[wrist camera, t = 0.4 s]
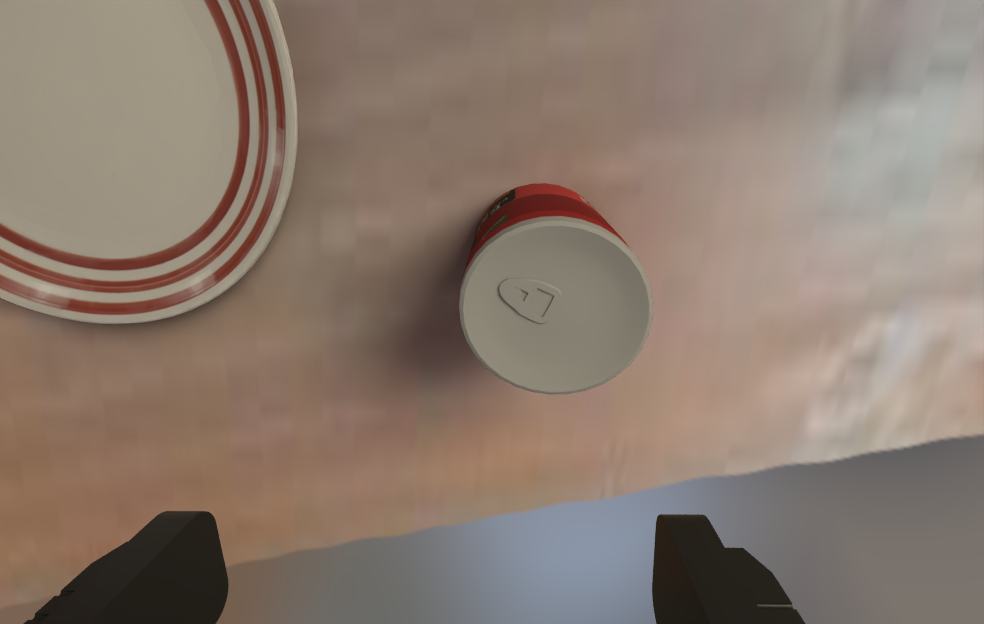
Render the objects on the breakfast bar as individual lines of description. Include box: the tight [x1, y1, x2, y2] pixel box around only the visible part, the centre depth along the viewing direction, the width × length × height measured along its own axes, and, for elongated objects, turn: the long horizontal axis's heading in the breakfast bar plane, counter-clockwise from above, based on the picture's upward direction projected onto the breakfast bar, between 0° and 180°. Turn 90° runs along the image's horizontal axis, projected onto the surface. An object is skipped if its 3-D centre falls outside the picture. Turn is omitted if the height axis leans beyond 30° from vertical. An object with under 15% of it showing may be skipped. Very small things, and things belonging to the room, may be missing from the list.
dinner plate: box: [0, 0, 298, 324], centre depth 26 cm, size 27×27×3 cm
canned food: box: [459, 183, 653, 394], centre depth 24 cm, size 8×8×11 cm
